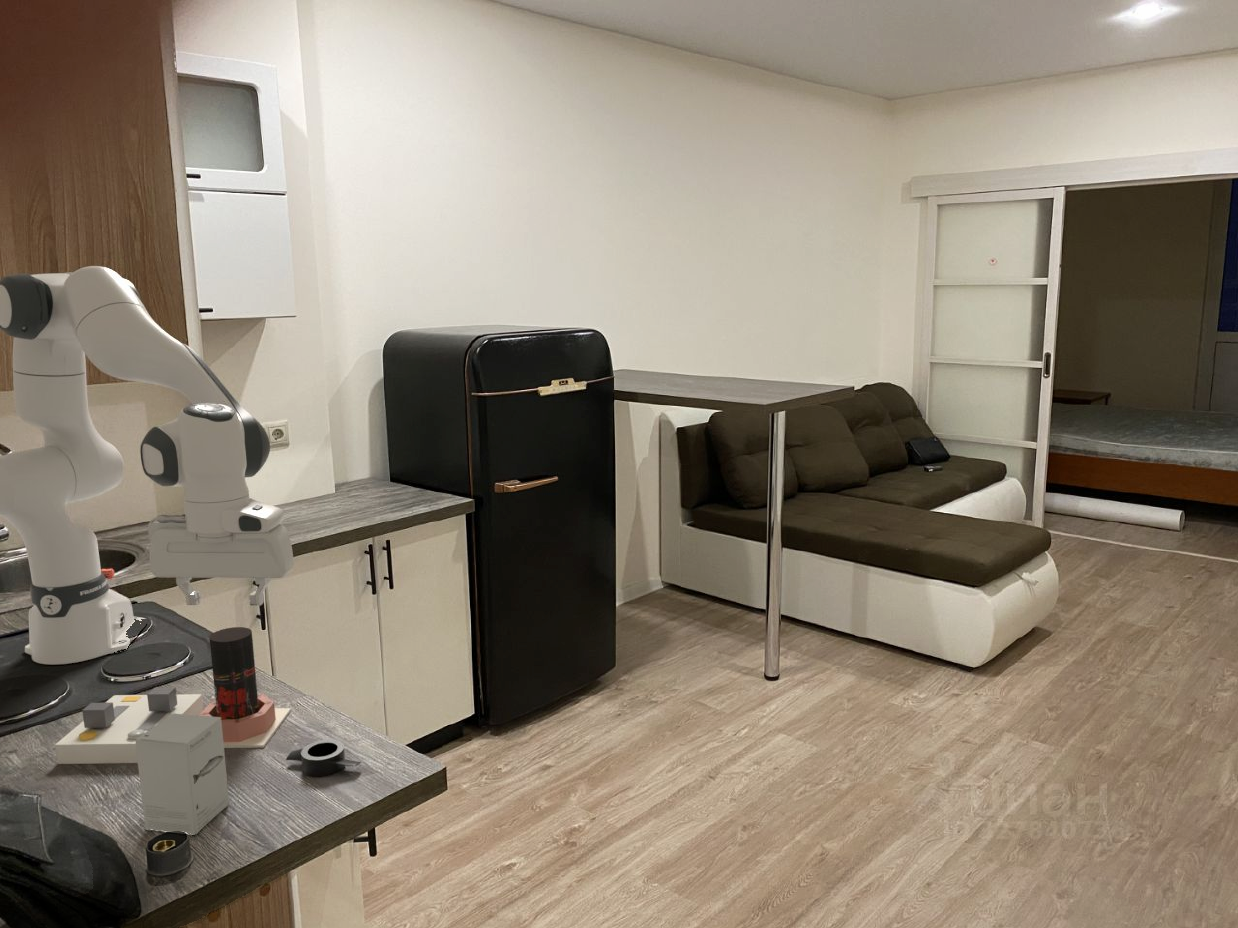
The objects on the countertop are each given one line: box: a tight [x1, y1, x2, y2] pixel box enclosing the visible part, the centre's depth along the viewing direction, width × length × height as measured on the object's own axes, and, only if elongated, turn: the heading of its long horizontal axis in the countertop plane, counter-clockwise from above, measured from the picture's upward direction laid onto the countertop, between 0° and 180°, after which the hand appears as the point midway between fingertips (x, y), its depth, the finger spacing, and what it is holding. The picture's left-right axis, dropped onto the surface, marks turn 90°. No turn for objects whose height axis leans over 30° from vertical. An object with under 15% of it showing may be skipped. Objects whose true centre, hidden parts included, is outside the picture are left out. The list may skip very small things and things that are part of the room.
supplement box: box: [135, 713, 230, 836], centre depth 117 cm, size 7×7×13 cm
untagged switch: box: [146, 686, 177, 711], centre depth 141 cm, size 2×3×3 cm
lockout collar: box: [199, 693, 292, 749], centre depth 142 cm, size 12×12×3 cm
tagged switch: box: [81, 702, 115, 728], centre depth 136 cm, size 2×3×3 cm
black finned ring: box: [285, 739, 362, 779], centre depth 130 cm, size 8×10×3 cm
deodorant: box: [208, 626, 259, 720], centre depth 141 cm, size 6×6×15 cm
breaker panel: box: [54, 693, 205, 765], centre depth 140 cm, size 16×14×4 cm
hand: (225, 604), depth 138 cm, fingers open, 8 cm apart
